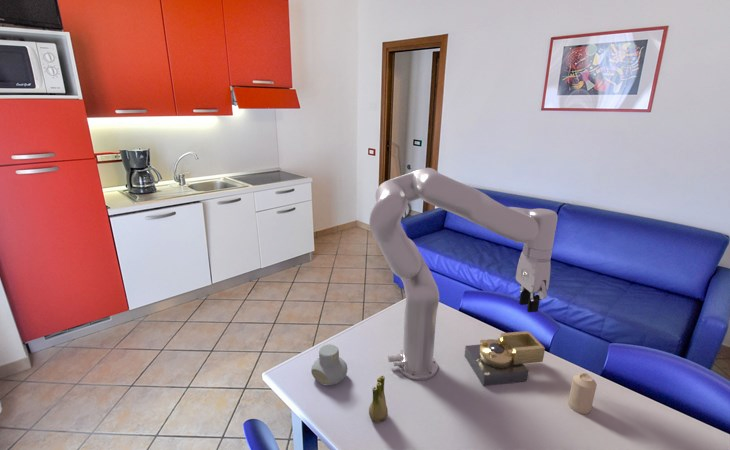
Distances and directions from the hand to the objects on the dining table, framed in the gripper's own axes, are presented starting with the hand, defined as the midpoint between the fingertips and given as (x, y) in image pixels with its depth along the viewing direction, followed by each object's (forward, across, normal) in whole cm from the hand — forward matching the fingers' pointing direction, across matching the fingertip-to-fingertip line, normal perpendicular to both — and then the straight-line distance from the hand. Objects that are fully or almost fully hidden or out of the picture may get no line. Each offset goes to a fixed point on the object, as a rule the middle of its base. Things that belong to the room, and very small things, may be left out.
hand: (528, 307), depth 111 cm
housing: (+21, 0, -8) cm, 23 cm away
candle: (+21, +18, +8) cm, 29 cm away
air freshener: (+22, -3, -60) cm, 64 cm away
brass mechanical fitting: (+17, 0, -5) cm, 18 cm away
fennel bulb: (+22, +14, -48) cm, 55 cm away
